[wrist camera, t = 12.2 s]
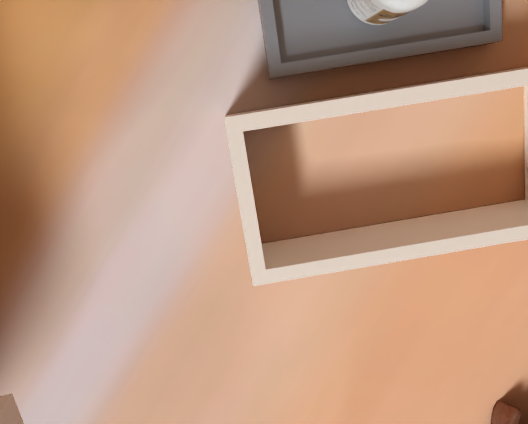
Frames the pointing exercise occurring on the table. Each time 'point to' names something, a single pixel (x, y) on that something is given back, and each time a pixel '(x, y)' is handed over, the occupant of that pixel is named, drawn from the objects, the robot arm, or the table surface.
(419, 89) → the cream storage bin
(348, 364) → the table surface
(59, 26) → the table surface
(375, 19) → the pill bottle
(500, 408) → the dark brown openwork dome
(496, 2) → the tray
